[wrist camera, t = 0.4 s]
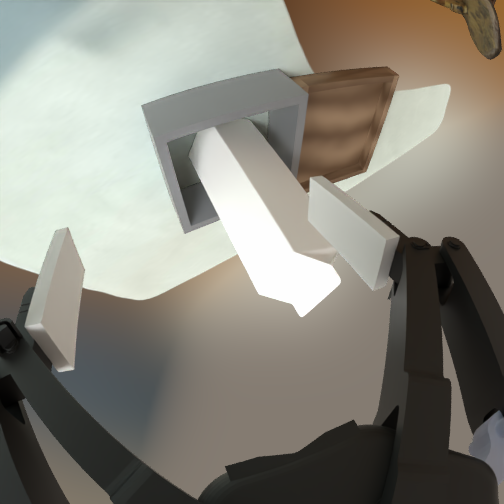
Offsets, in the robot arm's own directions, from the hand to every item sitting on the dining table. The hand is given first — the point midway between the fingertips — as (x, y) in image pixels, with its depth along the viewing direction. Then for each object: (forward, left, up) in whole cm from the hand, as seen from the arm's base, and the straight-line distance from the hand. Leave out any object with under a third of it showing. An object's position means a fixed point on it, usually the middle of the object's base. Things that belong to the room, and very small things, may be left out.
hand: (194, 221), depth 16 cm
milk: (+11, +7, -18) cm, 22 cm away
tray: (+15, +24, -18) cm, 34 cm away
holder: (+11, +7, -18) cm, 22 cm away
